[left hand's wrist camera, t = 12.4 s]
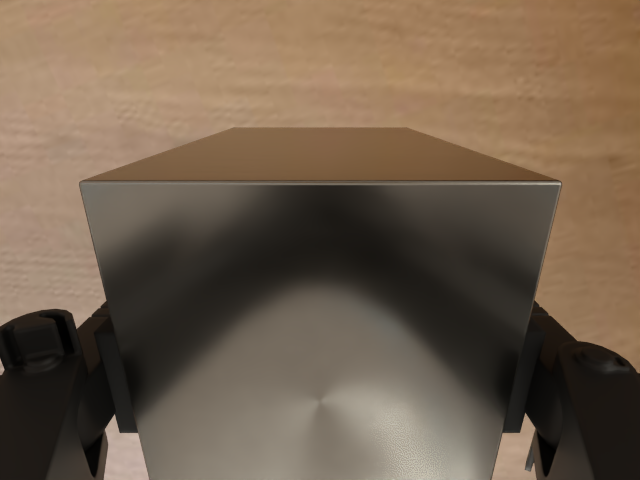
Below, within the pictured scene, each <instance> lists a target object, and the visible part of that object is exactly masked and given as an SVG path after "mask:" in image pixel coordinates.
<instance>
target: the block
mask: <svg viewBox="0 0 640 480" xmlns="http://www.w3.org/2000/svg"><path fill="white" fill-rule="evenodd" d="M79 187H80V191H81V195H82V199H83V204H84V208H85V212H86V216H87V220H88V224H89V229H90V233H91V237H92V241H93V245H94V250H95V254H96V258H97V262H98V266H99V270H100V275H101V279H102V283H103V287H104V291H105V296H106V300H107V304H108V308H109V312H110V317H111V321H112V325H113V329H114V333H115V337H116V342H117V346H118V350H119V354H120V358H121V363H122V367H123V371H124V375H125V379H126V384H127V388H128V392H129V396H130V400H131V404H132V409H133V413H134V417H135V421H136V425H137V430H138V434H139V438H140V442H141V446H142V450H143V455H144V459H145V463H146V467H147V471H148V476H149V480H491V479H492V474H493V470H494V466H495V462H496V458H497V454H498V449H499V445H500V441H501V437H502V433H503V429H504V424H505V420H506V416H507V412H508V408H509V404H510V399H511V395H512V391H513V387H514V383H515V379H516V374H517V370H518V366H519V362H520V358H521V354H522V349H523V345H524V341H525V337H526V333H527V329H528V324H529V320H530V316H531V312H532V308H533V304H534V299H535V295H536V291H537V287H538V283H539V279H540V274H541V270H542V266H543V262H544V258H545V254H546V249H547V245H548V241H549V237H550V233H551V229H552V224H553V220H554V216H555V212H556V208H557V204H558V199H559V195H560V191H561V187H562V182H561V181H559V180H556V179H553V178H550V177H547V176H545V175H542V174H539V173H536V172H533V171H530V170H527V169H524V168H522V167H519V166H516V165H513V164H510V163H507V162H504V161H501V160H499V159H496V158H493V157H490V156H487V155H484V154H481V153H478V152H476V151H473V150H470V149H467V148H464V147H461V146H458V145H455V144H453V143H450V142H447V141H444V140H441V139H438V138H435V137H432V136H430V135H427V134H424V133H421V132H418V131H415V130H412V129H409V128H231V129H228V130H225V131H222V132H219V133H217V134H214V135H211V136H208V137H205V138H202V139H199V140H197V141H194V142H191V143H188V144H185V145H182V146H179V147H177V148H174V149H171V150H168V151H165V152H162V153H159V154H157V155H154V156H151V157H148V158H145V159H142V160H139V161H137V162H134V163H131V164H128V165H125V166H122V167H119V168H117V169H114V170H111V171H108V172H105V173H102V174H99V175H96V176H94V177H91V178H88V179H85V180H82V181H80V182H79Z"/></svg>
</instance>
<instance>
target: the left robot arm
mask: <svg viewBox="0 0 640 480" xmlns="http://www.w3.org/2000/svg"><path fill="white" fill-rule="evenodd" d="M0 359H1V361H2V364H3V366H4V369H5V370H4V372H3V374H2V375H0V480H103V479H104V472H105V465H106V457H107V450H108V441H107V436H106V432H105V428H106V426H107V425H108V423H109V422H110V420H111V419H112V417H113V416H114V414H115V416H116V420H117V424H118V428H119V432H120V433H138V430H137V425H136V421H135V417H134V413H133V409H132V404H131V400H130V396H129V392H128V388H127V384H126V379H125V375H124V371H123V367H122V363H121V358H120V354H119V350H118V346H117V342H116V337H115V333H114V329H113V325H112V321H111V317H110V312H109V308H108V304H107V301H106V302H105V303H104V304H103V305H102V306H101V308H99V309H97V310H96V311H95V312H94V313H93V314H92V317H89V318H88V319H87V320H86V321H85V322H84V323H83V324H82V325H81V326H80V327H79V328H78V329H76V326H75V322H74V319H73V315H72V313H70V312H68V311H67V310H61V309H49V310H41V311H37V312H33V313H29V314H26V315H23V316H20V317H18V318H15V319H13V320H11V321H9V322H7V323H6V324H4V325H2V326H0ZM525 413H526V414H527V416H528V417H529V419H530V420H531V422H532V423H533V425H534V426H535V428H536V429H535V432H534V436H533V439H532V443H531V446H530V450H529V454H528V457H527V461H526V466H525V470H527V471H530V472H531V468H532V465H533V463H535V471H536V478H537V480H640V374H639V373H637V371H636V370H635V368H634V367H633V366H632V365H631V364H630V363H629V362H628V361H627V360H626V359H624V358H623V357H622V356H620V355H619V354H617V353H615V352H613V351H611V350H609V349H607V348H604V347H602V346H599V345H595V344H592V343H588V342H580V341H577V340H576V339H575V338H574V337H573V336H571V335H570V334H569V333H568V332H567V331H566V330H565V329H564V328H563V327H562V326H561V325H560V324H559V323H558V322H557V321H556V320H555V319H554V318H552V317H551V316H549V315H548V313H547V312H546V311H545V310H544V309H543V308H542V307H539V304H538V303H537V302H536V301H535V300H534V304H533V308H532V312H531V316H530V320H529V324H528V329H527V333H526V337H525V341H524V345H523V349H522V354H521V358H520V362H519V366H518V370H517V374H516V379H515V383H514V387H513V391H512V395H511V399H510V404H509V408H508V412H507V416H506V420H505V424H504V429H503V433H520V430H521V427H522V423H523V419H524V415H525Z"/></svg>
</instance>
